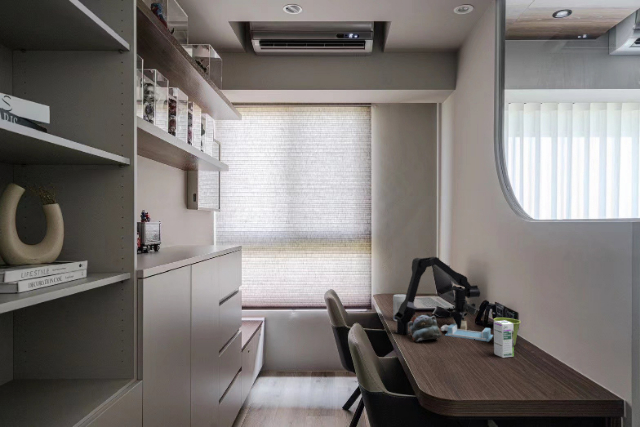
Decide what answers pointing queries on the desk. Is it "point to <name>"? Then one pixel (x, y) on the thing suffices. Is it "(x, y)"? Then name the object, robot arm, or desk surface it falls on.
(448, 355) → the desk surface
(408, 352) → the desk surface
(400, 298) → the supplement tub
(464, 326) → the beech block
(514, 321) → the plant pot
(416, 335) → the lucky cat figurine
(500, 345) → the syrup box
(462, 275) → the robot arm
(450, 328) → the sliding jaw
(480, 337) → the vise base
